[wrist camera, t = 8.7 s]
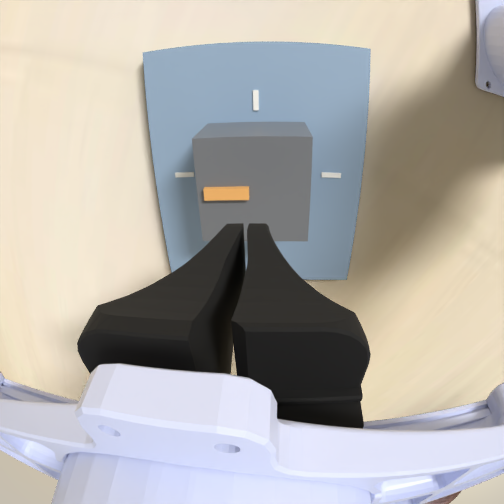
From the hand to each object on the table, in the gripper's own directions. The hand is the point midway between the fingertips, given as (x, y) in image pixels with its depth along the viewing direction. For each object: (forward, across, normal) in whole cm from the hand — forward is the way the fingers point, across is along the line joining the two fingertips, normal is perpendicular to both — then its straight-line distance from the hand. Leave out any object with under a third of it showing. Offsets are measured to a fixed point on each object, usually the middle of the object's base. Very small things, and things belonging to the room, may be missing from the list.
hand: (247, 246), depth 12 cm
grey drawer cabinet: (+8, 0, 0) cm, 8 cm away
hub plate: (+9, 0, 0) cm, 9 cm away
